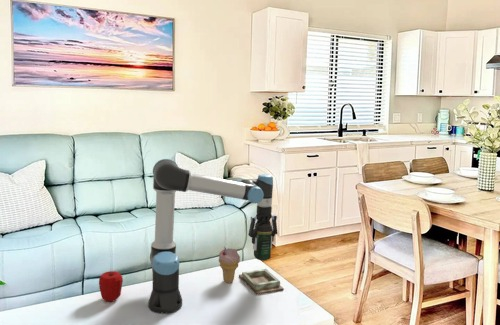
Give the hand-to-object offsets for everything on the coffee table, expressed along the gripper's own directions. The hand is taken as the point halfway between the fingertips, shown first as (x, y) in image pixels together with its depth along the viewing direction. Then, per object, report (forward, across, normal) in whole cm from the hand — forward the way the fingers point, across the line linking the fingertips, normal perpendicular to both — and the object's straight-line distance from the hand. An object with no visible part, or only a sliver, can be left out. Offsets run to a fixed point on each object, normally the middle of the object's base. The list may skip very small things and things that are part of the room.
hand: (262, 248), depth 218 cm
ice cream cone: (+19, -15, +7) cm, 25 cm away
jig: (+19, 0, 0) cm, 19 cm away
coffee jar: (+5, 0, 0) cm, 5 cm away
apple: (+19, -73, +8) cm, 76 cm away
